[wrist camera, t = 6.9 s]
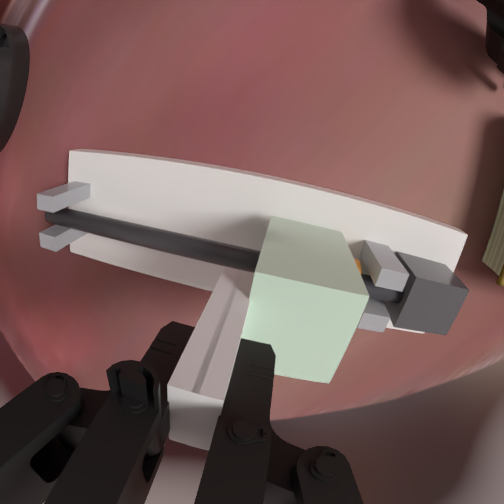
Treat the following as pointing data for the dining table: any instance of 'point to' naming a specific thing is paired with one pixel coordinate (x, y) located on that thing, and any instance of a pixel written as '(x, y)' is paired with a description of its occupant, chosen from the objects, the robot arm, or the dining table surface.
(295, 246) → the pale green block
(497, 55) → the power plug
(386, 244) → the linear slide rail
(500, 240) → the hardcover book
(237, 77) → the dining table surface
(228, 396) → the robot arm
